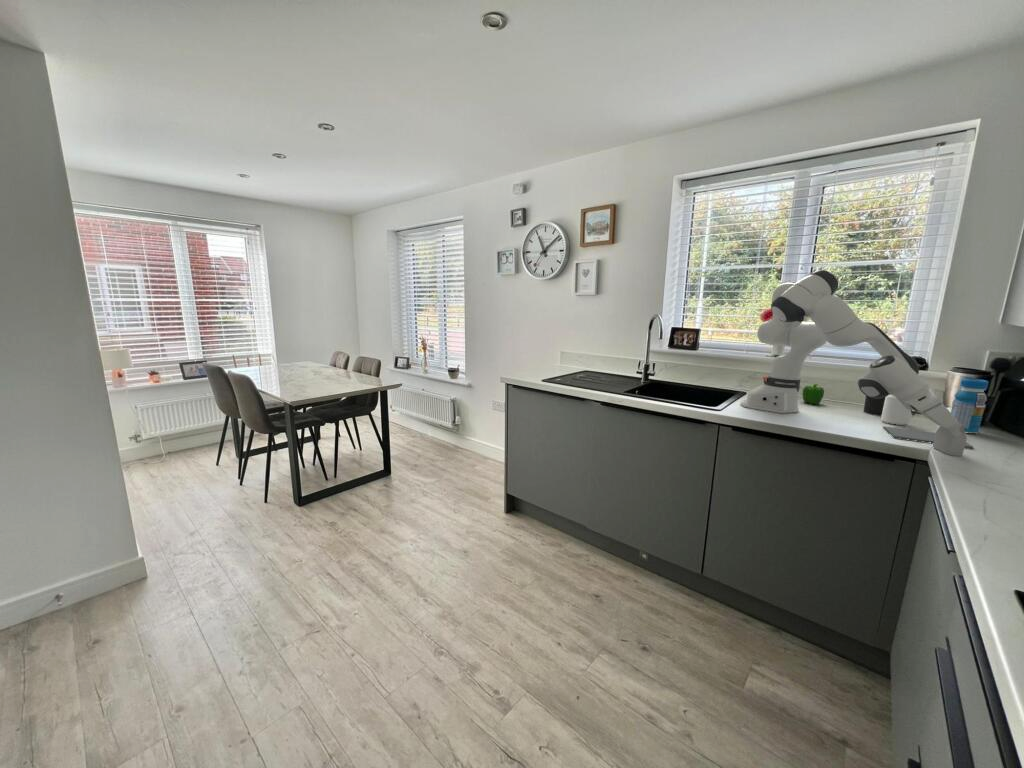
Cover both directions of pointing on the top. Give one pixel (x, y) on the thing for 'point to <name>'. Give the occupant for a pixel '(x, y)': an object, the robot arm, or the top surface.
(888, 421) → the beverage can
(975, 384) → the beverage bottle
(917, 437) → the charcoal mat
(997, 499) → the top surface
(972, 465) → the top surface
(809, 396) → the bell pepper
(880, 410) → the travel mug
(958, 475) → the top surface
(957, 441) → the grey block
